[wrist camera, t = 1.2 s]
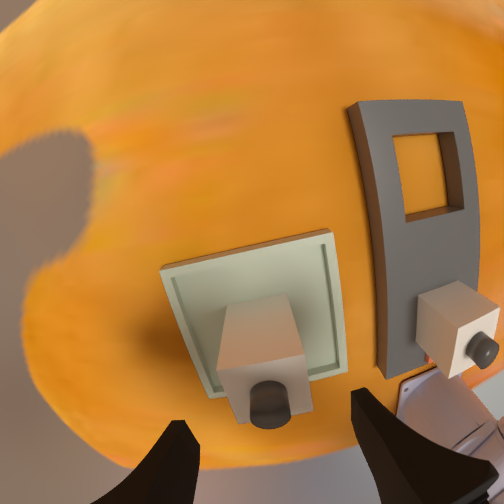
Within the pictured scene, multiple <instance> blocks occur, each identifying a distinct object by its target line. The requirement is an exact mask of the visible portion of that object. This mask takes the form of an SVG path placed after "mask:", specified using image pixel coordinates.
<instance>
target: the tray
mask: <svg viewBox="0 0 504 504" xmlns="http://www.w3.org/2000/svg"><path fill="white" fill-rule="evenodd" d="M159 272H160V275H161V278H162V281H163V284H164V287H165V290H166V293H167V296H168V299H169V302H170V304H171V307H172V310H173V313H174V316H175V318H176V321H177V324H178V326H179V329H180V331H181V334H182V337H183V339H184V342H185V344H186V347H187V349H188V352H189V354H190V356H191V359H192V361H193V364H194V366H195V368H196V371H197V373H198V375H199V378H200V380H201V382H202V384H203V387H204V389H205V391H206V393H207V395H208V398H209V399H212V398H220V397H227V396H226V394H225V391H224V389H223V386H222V384H221V381H220V379H219V376H218V374H217V371H216V369H217V363H218V356H219V350H220V344H221V338H222V332H223V326H224V320H225V314H226V309H227V305H230V304H235V303H240V302H244V301H249V300H254V299H259V298H263V297H268V296H273V295H277V294H282V293H287V297H288V300H289V303H290V307H291V310H292V313H293V317H294V320H295V323H296V327H297V330H298V333H299V337H300V340H301V344H302V347H303V350H304V354H305V360H306V366H307V372H308V378H309V382H310V381H314V380H318V379H322V378H326V377H330V376H334V375H338V374H341V373H345V372H348V365H347V349H346V336H345V324H344V313H343V303H342V294H341V286H340V277H339V270H338V262H337V255H336V248H335V242H334V235H333V232H332V231H331V230H329V229H323V230H319V231H314V232H310V233H305V234H301V235H296V236H292V237H287V238H283V239H278V240H274V241H269V242H265V243H260V244H256V245H251V246H247V247H243V248H238V249H234V250H229V251H225V252H220V253H216V254H212V255H207V256H203V257H198V258H194V259H190V260H185V261H181V262H177V263H172V264H168V265H164V266H163V267H162V268H161V269H160V271H159Z"/></svg>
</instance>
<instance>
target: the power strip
mask: <svg viewBox="0 0 504 504" xmlns="http://www.w3.org/2000/svg"><path fill="white" fill-rule="evenodd" d="M347 110H348V114H349V118H350V122H351V126H352V130H353V134H354V139H355V143H356V147H357V152H358V157H359V162H360V167H361V172H362V177H363V183H364V188H365V194H366V201H367V207H368V214H369V221H370V229H371V237H372V246H373V256H374V267H375V280H376V297H377V324H378V360H377V366H378V368H379V369H380V371H381V373H382V374H383V376H384V378H385V379H386V380H387V379H390V378H392V377H395V376H398V375H400V374H403V373H406V372H408V371H411V370H413V369H416V368H418V367H420V366H423V365H425V364H430V363H432V362H434V363H435V364H436V365H437V366H438V368H439V369H440V370H441V371H442V372H443V374H444V375H445V376H446V377H447V378H448V379H449V378H451V377H453V376H455V375H457V374H459V373H461V372H463V371H464V370H466V369H468V368H470V367H472V366H473V365H475V364H476V365H477V366H478V367H479V368H480V369H485V368H487V367H488V366H489V365H490V364H491V363H492V362H493V361H494V359H495V358H496V356H497V354H498V351H499V344H498V343H496V342H495V341H494V340H493V339H494V335H495V331H496V326H497V321H498V316H499V311H500V306H498V305H497V304H495V303H494V302H492V301H491V300H489V299H488V298H486V297H484V296H483V295H481V294H480V293H478V292H477V288H478V277H479V260H480V214H479V197H478V185H477V176H476V168H475V161H474V154H473V148H472V143H471V137H470V132H469V128H468V123H467V119H466V114H465V110H464V107H463V103H462V101H447V100H374V101H358V102H356V103H355V104H353V105H352V106H350V107H349V108H347ZM427 134H438V136H439V141H440V146H441V151H442V157H443V163H444V170H445V177H446V185H447V194H448V205H449V206H445V207H441V208H436V209H432V210H427V211H423V212H418V213H413V214H409V215H405V211H404V202H403V195H402V188H401V181H400V175H399V169H398V163H397V158H396V153H395V148H394V143H393V138H392V137H399V136H412V135H427Z"/></svg>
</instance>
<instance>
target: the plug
mask: <svg viewBox="0 0 504 504" xmlns="http://www.w3.org/2000/svg"><path fill="white" fill-rule="evenodd" d="M216 371H217V374H218V376H219V379H220V381H221V384H222V386H223V389H224V391H225V394H226V396H227V398H228V401H229V403H230V406H231V408H232V410H233V413H234V415H235V417H236V420H237V422H238V424H244V423H252V424H253V425H255V426H256V427H259V428H262V429H275V428H279V427H282V426H283V425H285V424H286V423H288V421H289V420H290V418H291V416H292V415H297V414H302V413H306V412H311V411H314V410H313V403H312V397H311V390H310V384H309V378H308V372H307V366H306V360H305V354H304V350H303V347H302V344H301V340H300V337H299V333H298V330H297V327H296V323H295V320H294V317H293V313H292V310H291V307H290V303H289V300H288V297H287V293H282V294H277V295H273V296H268V297H263V298H259V299H254V300H249V301H244V302H240V303H235V304H230V305H227V309H226V314H225V320H224V326H223V332H222V338H221V344H220V350H219V356H218V363H217V369H216Z"/></svg>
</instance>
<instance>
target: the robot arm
mask: <svg viewBox="0 0 504 504" xmlns="http://www.w3.org/2000/svg"><path fill="white" fill-rule="evenodd" d="M461 375H462V372H461V373H459V374H457V375H455V376H453V377H451V378H449V379H448V378H447V377H446V376H445V375H444V374H443V372H442V371H441V370H440V369H439V368H438V367H436V368H434V369H432V370H430V371H427V372H425V373H423V374H420V375H418V376H416V377H413V378H411V379H408V380H406V381H404V382H403V383H402V384H401V388H400V396H399V402H398V409H397V415H396V416H395V415H394V414H392V413H391V412H390V411H389V410H388V409H387V408H386V407H385V406H383V405H382V404H381V403H380V402H379V401H378V400H377V399H376V398H375V397H374V396H373V395H372V394H371V392H370V391H369V390H368V389H367V388H365V387H364V388H360V389H357V390H354V391H351V421H352V424H353V428H354V431H355V434H356V438H357V440H358V443H359V445H360V447H361V449H362V452H363V454H364V456H365V458H366V461H367V463H368V465H369V468H370V470H371V472H372V474H373V477H374V480H375V482H376V485H377V488H378V492H379V496H380V500H381V504H504V417H502V418H501V419H500V420H499V421H498V420H496V419H495V418H494V417H493V415H492V414H491V413H490V412H489V411H488V409H487V408H486V407H485V406H484V404H483V403H482V402H481V401H480V400H479V399H478V397H477V396H476V395H475V394H474V392H473V391H472V390H471V389H470V388H469V387H468V385H467V384H466V383H465V382H464V381H463V380H462V379H461ZM199 465H200V445H199V443H198V441H197V440H196V438H195V437H194V435H193V434H192V432H191V430H190V429H189V427H188V425H187V424H186V422H185V420H172V421H171V422H170V424H169V425H168V427H167V428H166V429H165V431H164V432H163V434H162V435H161V436H160V438H159V439H158V441H157V442H156V443H155V445H154V446H153V447H152V449H151V450H150V451H149V453H148V454H147V455H146V456H145V458H144V459H143V460H142V461H141V462H140V464H139V465H138V466H137V467H136V468H135V469H134V470H133V471H132V472H131V474H129V475H128V476H127V477H126V478H125V479H124V480H123V481H122V482H121V483H120V484H119V485H117V486H116V487H115V488H113V489H112V490H111V491H109V492H108V493H107V494H105V495H104V496H102V497H101V498H99V499H98V500H96V501H94V502H92V503H91V504H193V501H194V495H195V489H196V483H197V477H198V471H199Z"/></svg>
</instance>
